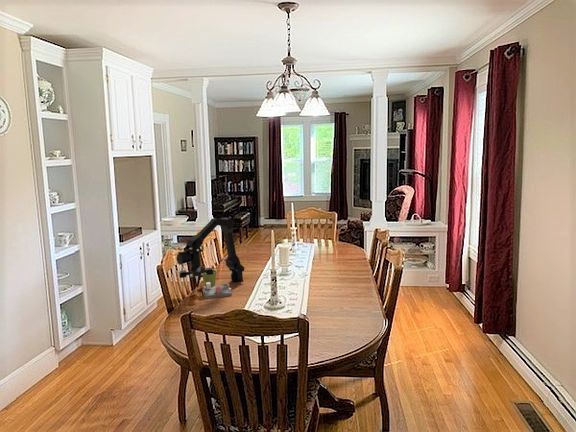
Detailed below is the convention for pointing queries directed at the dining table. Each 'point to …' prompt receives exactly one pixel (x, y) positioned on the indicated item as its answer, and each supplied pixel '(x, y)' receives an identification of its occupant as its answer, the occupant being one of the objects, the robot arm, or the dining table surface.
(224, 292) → the mixing board
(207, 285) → the fader white
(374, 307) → the dining table surface
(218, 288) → the fader red
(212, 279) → the plant pot
